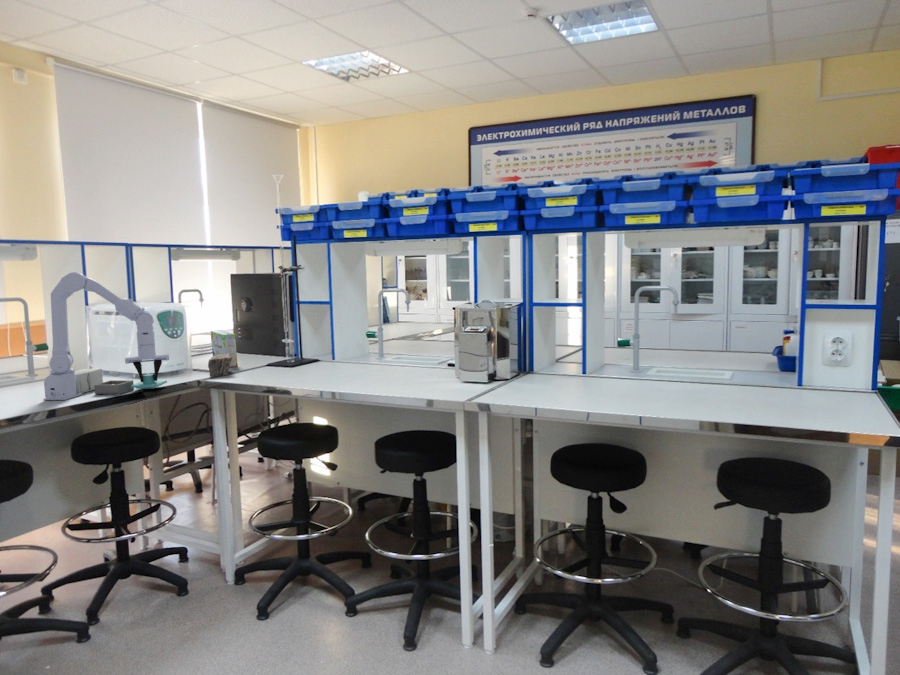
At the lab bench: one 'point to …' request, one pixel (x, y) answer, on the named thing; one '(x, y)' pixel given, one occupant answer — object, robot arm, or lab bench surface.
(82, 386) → the supplement box
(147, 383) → the lid
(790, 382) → the lab bench surface
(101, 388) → the box
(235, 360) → the snack box
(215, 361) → the stone block
